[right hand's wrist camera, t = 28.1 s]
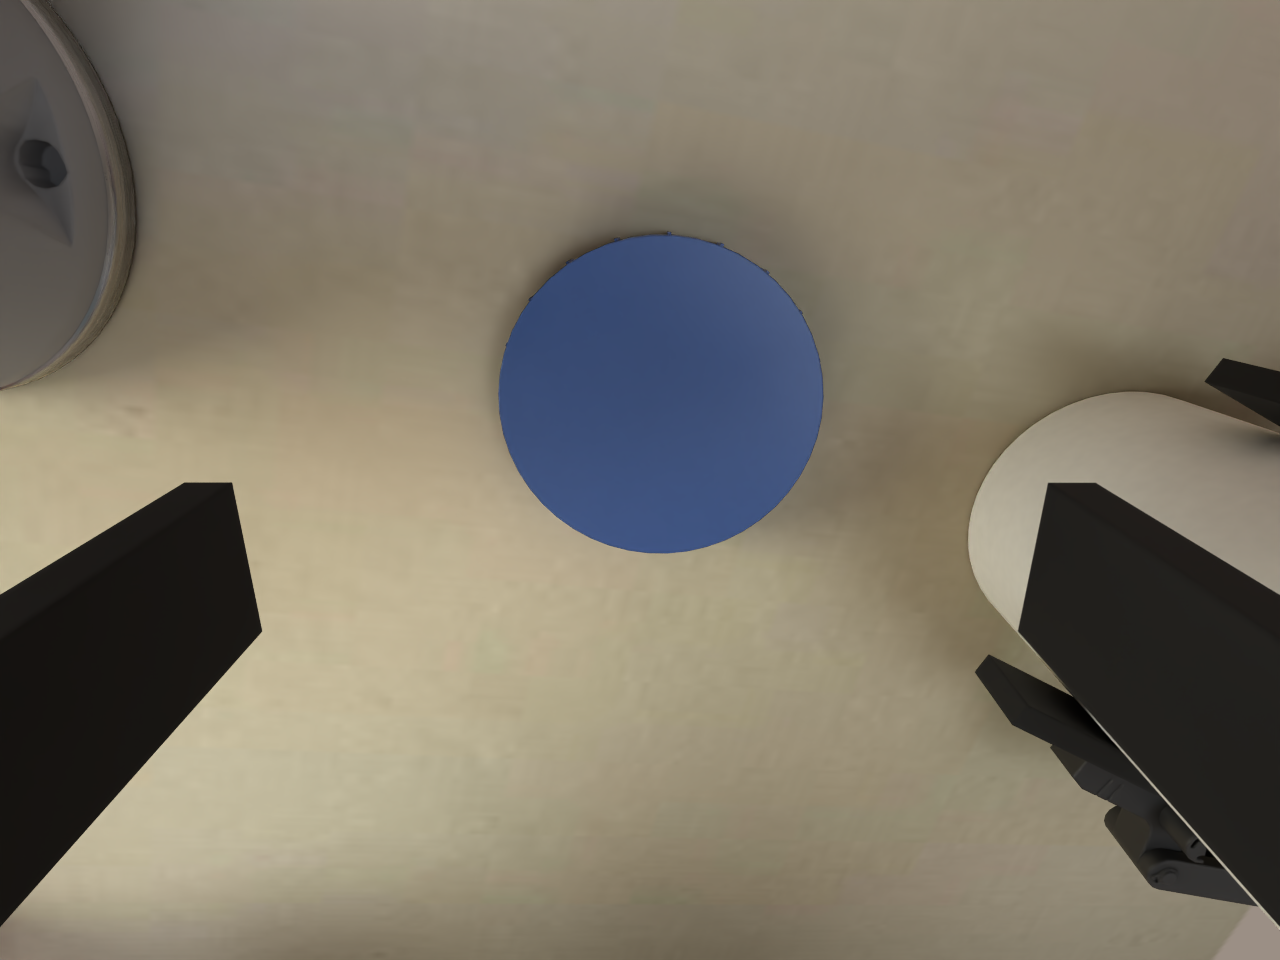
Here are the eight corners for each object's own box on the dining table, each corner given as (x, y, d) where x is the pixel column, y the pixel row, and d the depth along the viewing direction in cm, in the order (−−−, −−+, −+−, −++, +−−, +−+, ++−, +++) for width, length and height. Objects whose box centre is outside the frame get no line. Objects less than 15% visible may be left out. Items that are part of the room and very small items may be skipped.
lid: (490, 500, 28) (477, 521, 26) (534, 202, 25) (524, 200, 23) (767, 554, 29) (775, 580, 27) (849, 270, 25) (866, 274, 23)
